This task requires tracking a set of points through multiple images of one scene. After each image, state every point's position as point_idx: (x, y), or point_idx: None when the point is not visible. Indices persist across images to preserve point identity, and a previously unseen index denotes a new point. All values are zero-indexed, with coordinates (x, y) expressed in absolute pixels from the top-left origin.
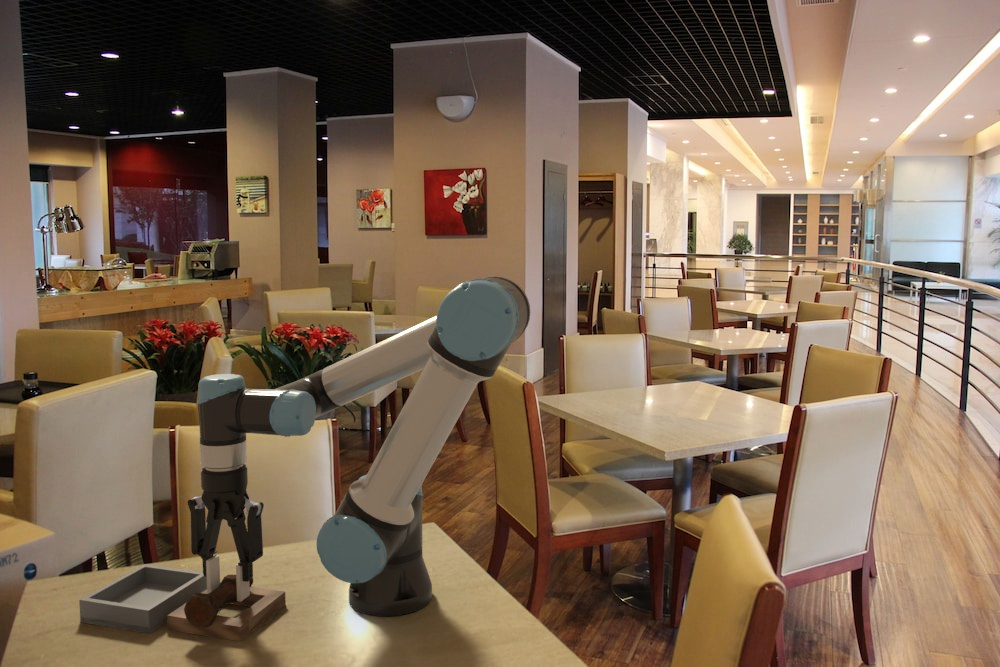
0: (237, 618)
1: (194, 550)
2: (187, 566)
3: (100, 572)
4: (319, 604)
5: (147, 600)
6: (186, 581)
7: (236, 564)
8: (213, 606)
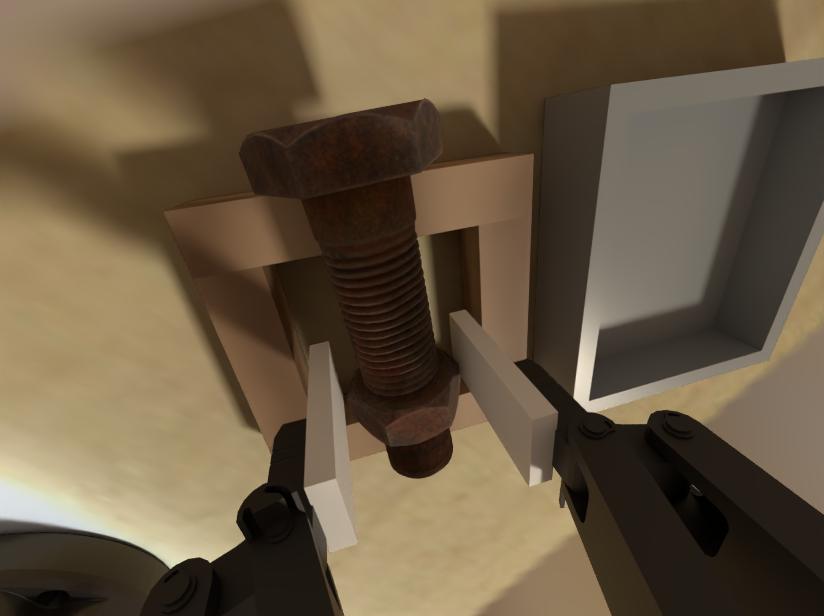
0: (251, 266)
1: (684, 434)
2: None
3: (821, 319)
4: (197, 493)
5: (661, 253)
6: (611, 370)
7: (332, 481)
8: (256, 159)
